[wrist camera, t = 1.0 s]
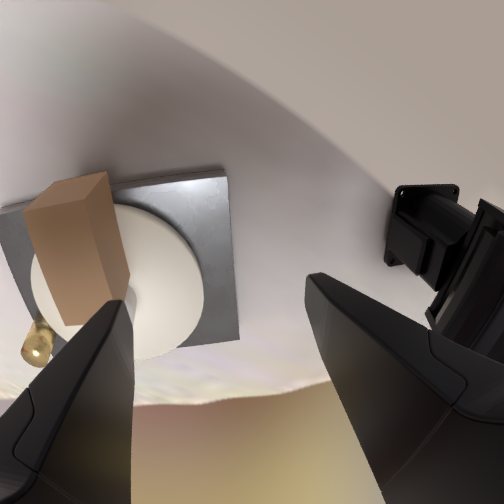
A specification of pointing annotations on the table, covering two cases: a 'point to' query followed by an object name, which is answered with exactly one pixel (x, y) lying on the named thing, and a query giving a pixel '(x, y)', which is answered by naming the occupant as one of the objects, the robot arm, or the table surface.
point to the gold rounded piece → (38, 342)
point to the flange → (111, 265)
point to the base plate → (176, 215)
